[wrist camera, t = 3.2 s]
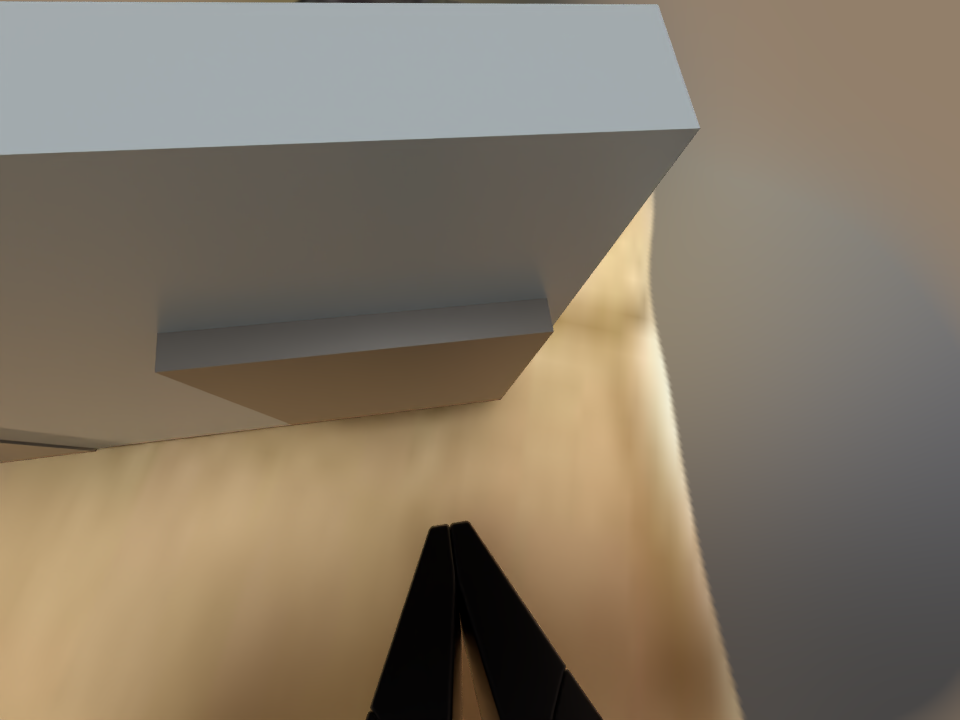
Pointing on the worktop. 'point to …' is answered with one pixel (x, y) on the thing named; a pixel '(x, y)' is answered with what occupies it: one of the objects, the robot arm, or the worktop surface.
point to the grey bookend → (307, 203)
